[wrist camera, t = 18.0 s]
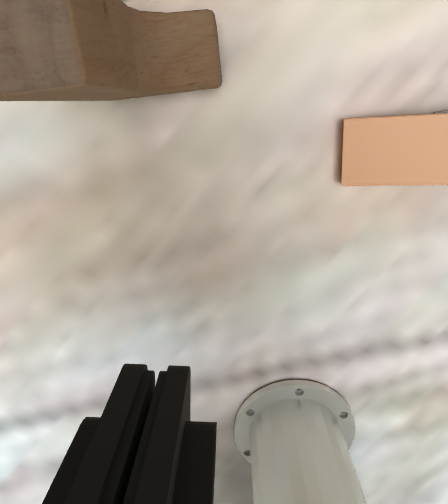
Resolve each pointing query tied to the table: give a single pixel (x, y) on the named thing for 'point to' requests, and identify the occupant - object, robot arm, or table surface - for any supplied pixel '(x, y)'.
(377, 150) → the domino
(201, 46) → the wooden block
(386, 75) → the table surface
